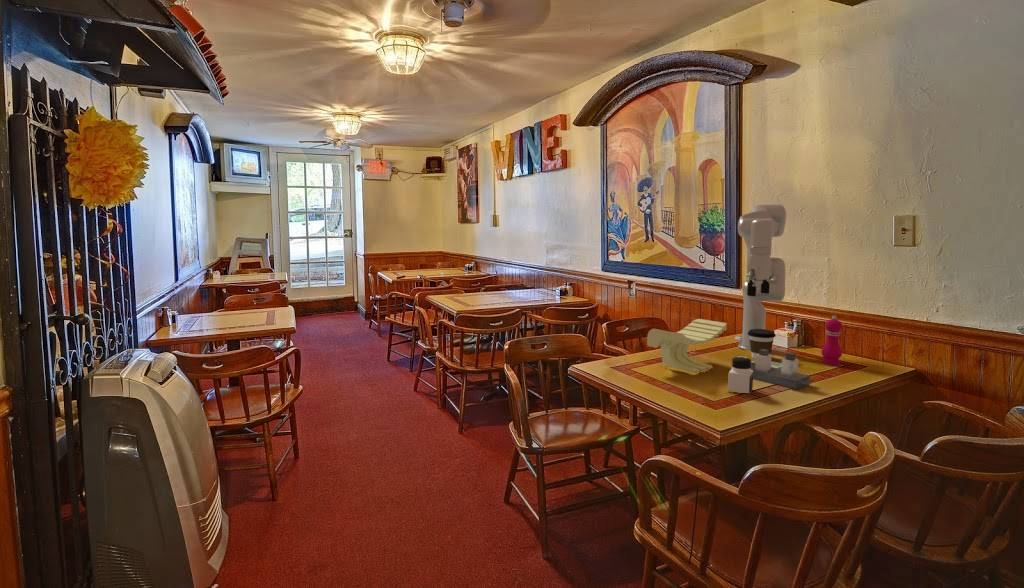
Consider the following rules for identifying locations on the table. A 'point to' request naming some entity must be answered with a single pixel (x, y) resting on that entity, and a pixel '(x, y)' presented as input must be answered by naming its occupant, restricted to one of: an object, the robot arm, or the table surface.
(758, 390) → the table surface
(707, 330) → the slatted curved stool
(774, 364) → the tray
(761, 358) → the plug
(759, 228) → the robot arm
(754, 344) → the coffee cup
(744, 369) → the medicine bottle
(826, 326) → the pepper mill
